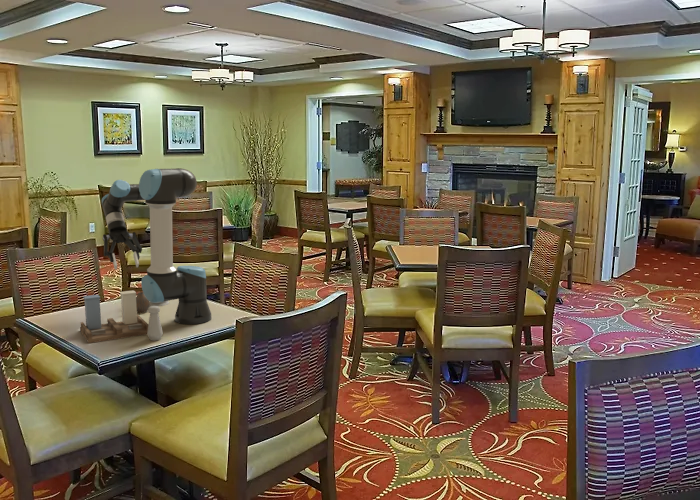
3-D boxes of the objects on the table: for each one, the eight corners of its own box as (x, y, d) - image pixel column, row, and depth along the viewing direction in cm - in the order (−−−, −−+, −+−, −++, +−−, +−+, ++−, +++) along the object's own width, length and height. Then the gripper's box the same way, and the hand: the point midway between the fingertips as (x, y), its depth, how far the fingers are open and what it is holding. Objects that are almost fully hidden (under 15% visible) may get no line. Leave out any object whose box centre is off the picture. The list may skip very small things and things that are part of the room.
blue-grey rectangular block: (85, 327, 250) (83, 296, 248) (99, 325, 253) (97, 294, 250) (87, 330, 246) (85, 298, 244) (102, 328, 249) (100, 296, 247)
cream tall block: (121, 322, 257) (120, 291, 255) (135, 320, 260) (133, 290, 258) (124, 324, 254) (122, 294, 251) (138, 322, 256) (136, 292, 254)
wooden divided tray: (80, 330, 251) (79, 322, 250) (138, 322, 263) (138, 314, 262) (88, 343, 236) (88, 334, 235) (150, 333, 248) (149, 325, 247)
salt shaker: (154, 342, 237) (152, 309, 235) (144, 339, 240) (142, 307, 238) (166, 338, 242) (164, 305, 240) (156, 335, 245) (154, 303, 243)
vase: (153, 311, 280) (152, 292, 279) (141, 314, 275) (139, 295, 273) (143, 308, 284) (142, 290, 283) (130, 312, 278) (129, 293, 277)
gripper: (139, 228, 284) (150, 268, 274) (90, 231, 273) (99, 274, 263) (141, 218, 279) (153, 259, 268) (91, 221, 268) (101, 263, 257)
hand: (126, 266), depth 265 cm, fingers open, 8 cm apart
